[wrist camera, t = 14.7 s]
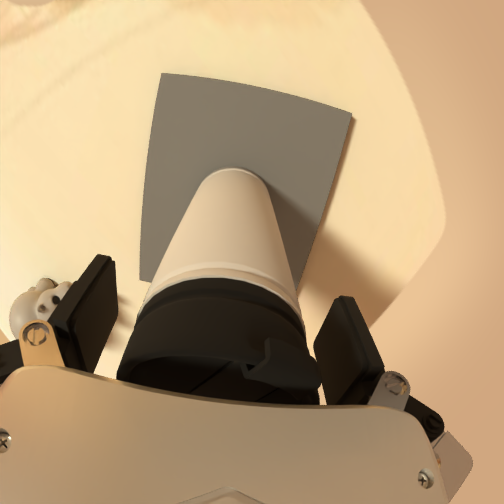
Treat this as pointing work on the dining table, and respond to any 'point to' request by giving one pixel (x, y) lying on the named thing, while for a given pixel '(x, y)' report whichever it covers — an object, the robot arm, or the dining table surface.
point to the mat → (238, 157)
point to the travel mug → (224, 304)
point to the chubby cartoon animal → (36, 304)
